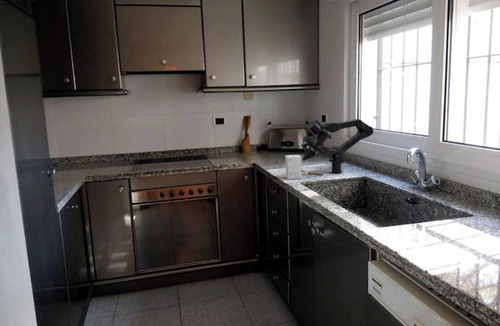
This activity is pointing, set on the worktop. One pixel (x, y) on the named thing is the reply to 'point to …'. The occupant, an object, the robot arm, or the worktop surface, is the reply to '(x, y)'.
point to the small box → (293, 167)
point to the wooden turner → (311, 173)
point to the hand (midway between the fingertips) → (303, 160)
